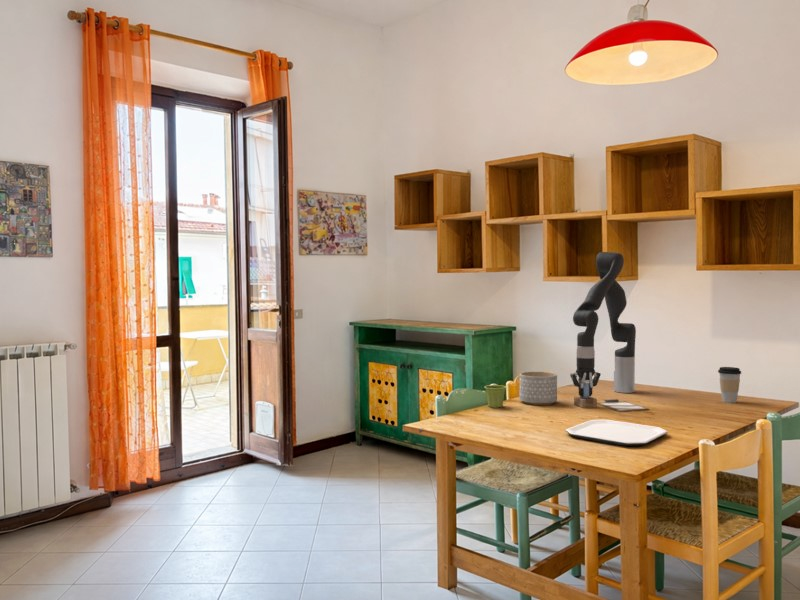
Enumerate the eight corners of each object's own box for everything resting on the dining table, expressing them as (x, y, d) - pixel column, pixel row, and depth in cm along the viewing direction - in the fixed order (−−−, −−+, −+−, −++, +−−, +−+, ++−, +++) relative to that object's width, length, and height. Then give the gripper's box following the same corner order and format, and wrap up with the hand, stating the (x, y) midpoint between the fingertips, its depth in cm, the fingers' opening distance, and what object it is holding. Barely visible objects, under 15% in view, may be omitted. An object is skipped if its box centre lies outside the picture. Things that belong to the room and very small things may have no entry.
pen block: (574, 404, 287) (574, 396, 287) (588, 404, 288) (588, 396, 288) (582, 407, 280) (582, 399, 280) (596, 407, 282) (596, 398, 281)
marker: (579, 405, 286) (580, 379, 285) (587, 404, 286) (587, 379, 286) (583, 406, 282) (583, 380, 282) (591, 406, 283) (591, 380, 283)
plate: (672, 435, 233) (672, 428, 233) (640, 451, 211) (640, 444, 211) (595, 423, 252) (595, 417, 252) (559, 437, 230) (559, 431, 230)
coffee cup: (744, 404, 286) (744, 369, 286) (721, 403, 288) (721, 369, 287) (736, 400, 296) (737, 366, 295) (714, 399, 297) (714, 366, 297)
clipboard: (596, 403, 289) (596, 400, 289) (624, 402, 292) (624, 398, 292) (619, 411, 271) (619, 408, 271) (649, 410, 274) (649, 406, 274)
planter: (561, 405, 285) (561, 376, 285) (523, 406, 285) (523, 377, 284) (552, 398, 301) (552, 371, 301) (516, 399, 301) (516, 371, 301)
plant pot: (482, 408, 281) (482, 387, 281) (486, 404, 290) (486, 384, 290) (504, 409, 278) (504, 388, 278) (507, 405, 287) (507, 385, 287)
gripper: (595, 354, 289) (595, 393, 289) (566, 356, 285) (566, 395, 286) (604, 356, 281) (604, 396, 282) (574, 358, 278) (574, 398, 279)
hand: (585, 395), depth 284 cm, fingers closed on marker, 3 cm apart
